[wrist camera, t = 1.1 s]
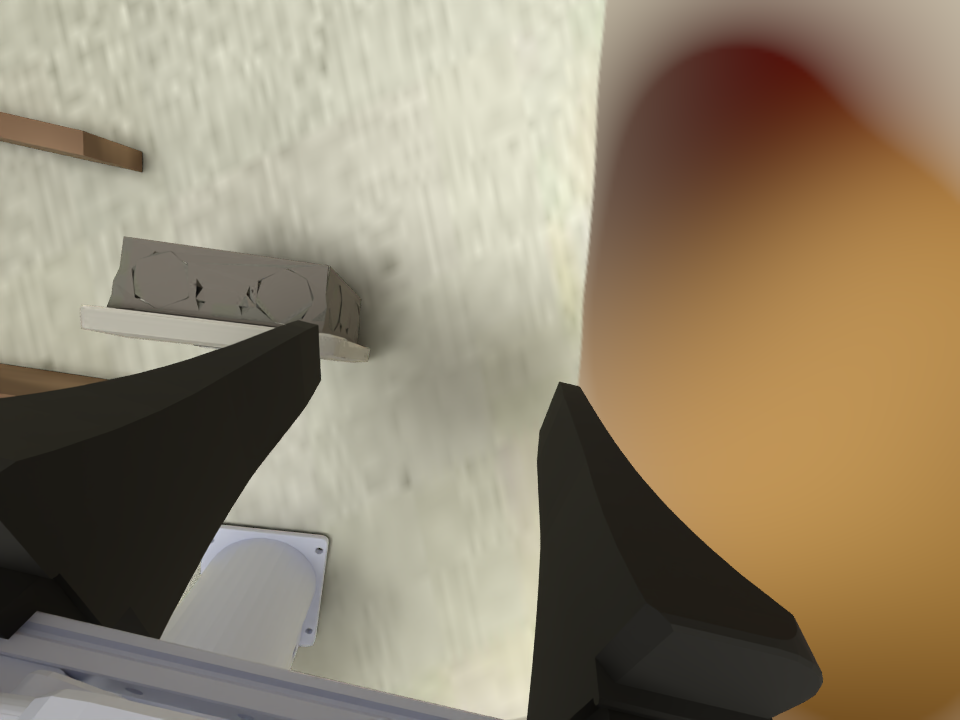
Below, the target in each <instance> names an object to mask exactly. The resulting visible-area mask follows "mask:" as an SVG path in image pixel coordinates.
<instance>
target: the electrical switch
mask: <svg viewBox="0 0 960 720" xmlns="http://www.w3.org/2000/svg"><path fill="white" fill-rule="evenodd" d="M183 261H184V262H186V263H187V264H186V263H184V262H183ZM286 268H288V269H289V270H291V271H289V270H286ZM328 269H329V266H328V265H322V264H315V263H308V262H301V261H294V260H286V259H279V258H272V257H265V256H258V255H251V254H244V253H237V252H230V251H223V250H216V249H209V248H202V247H195V246H188V245H181V244H174V243H167V242H160V241H153V240H146V239H139V238H132V237H124V238H123V246H122V253H121V261H120V268H119V270H118V272H117V274H116V276H115V278H114V280H113V287H112V295H111V297H110V300H109V302H108V305H107V307H99V306H91V305H82V306H81V307H80V318H81V329H86V330H91V331H96V332H101V333H106V334H111V335H117V336H122V337H127V338H135V339H145V340H154V341H163V342H172V343H181V344H191V345H195V346H199V347H204V348H213V349H221V348H224V347H226V346H229V345H232V344H235V343H237V342H240V341H242V340H245V339H248V338H250V337H253V336H256V335H258V334H261V333H263V332H266V331H268V330H271V329H274V328H276V327H279V326H282V325H285V324H287V323H290V322H294V321H297V320H300V321H304V322H308V323H312V324H317V325H318V326H319V348H320V359H325V360H334V361H343V362H355V363H356V362H368V358H369V353H370V348H369V347H364V346H361V345H358V344H357V340H358V333H359V313H360V305H361V299H360V297H359V296H358V295H357V294H356V293H355V292H354V291H353V290H352V289H351V288H350V287H349V286H348V285H347V284H346V283H345V281H344V280H343V279H342V278H341V277H340V276H339V275H338V274H337V273H336V272H335V271H334V270H333V269H332V268H331V267H330V272H329V278H328ZM292 271H293V272H292ZM327 278H328V284H327ZM259 282H261V284H260V287H258V283H259ZM326 288H327V290H326Z"/></svg>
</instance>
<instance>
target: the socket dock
mask: <svg viewBox="0 0 960 720" xmlns="http://www.w3.org/2000/svg"><path fill="white" fill-rule="evenodd" d="M0 141H3V142H7V143H12V144H16V145H21V146H25V147H30V148H34V149H39V150H44V151H48V152H53V153H57V154H62V155H66V156H71V157H75V158H80V159H84V160H89V161H93V162H98V163H102V164H107V165H112V166H116V167H121V168H125V169H130V170H134V171H139V172H142V152H141V151H138V150H135V149H132V148H130V147H127V146H124V145H121V144H118V143H115V142H113V141H110V140H107V139H104V138H101V137H98V136H96V135H93V134H90V133H87V132H84V131H81V130H76V129H72V128H68V127H63V126H59V125H55V124H50V123H46V122H42V121H37V120H33V119H29V118H24V117H20V116H15V115H11V114H7V113H2V112H0ZM106 380H107V379H100V378H93V377H87V376H80V375H73V374H66V373H60V372H53V371H46V370H40V369H33V368H26V367H19V366H13V365H6V364H0V398H5V397H12V396H19V395H26V394H33V393H40V392H47V391H53V390H59V389H65V388H71V387H76V386H82V385H86V384H91V383H96V382H101V381H106Z"/></svg>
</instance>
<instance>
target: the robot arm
mask: <svg viewBox="0 0 960 720" xmlns="http://www.w3.org/2000/svg"><path fill="white" fill-rule="evenodd" d="M320 381H321V369H320V348H319V326H318V325H317V324H312V323H308V322H304V321H300V320H297V321H294V322H290V323H287V324H285V325H282V326H279V327H276V328H274V329H271V330H268V331H266V332H263V333H261V334H258V335H256V336H253V337H250V338H248V339H245V340H242V341H240V342H237V343H235V344H232V345H229V346H226V347H224V348H221V349H218V350H215V351H212V352H209V353H206V354H203V355H200V356H197V357H194V358H191V359H188V360H185V361H182V362H179V363H175V364H172V365H168V366H165V367H161V368H157V369H153V370H149V371H146V372H142V373H138V374H134V375H130V376H125V377H120V378H115V379H110V380H106V381H101V382H96V383H91V384H86V385H82V386H76V387H71V388H65V389H59V390H53V391H47V392H40V393H33V394H26V395H19V396H12V397H5V398H0V720H502V719H498V718H494V717H489V716H485V715H481V714H477V713H472V712H468V711H464V710H459V709H455V708H451V707H447V706H442V705H438V704H434V703H429V702H425V701H421V700H416V699H412V698H408V697H404V696H399V695H395V694H391V693H386V692H382V691H378V690H374V689H369V688H365V687H361V686H356V685H352V684H348V683H344V682H339V681H335V680H331V679H326V678H322V677H318V676H313V675H309V674H305V673H301V672H296V671H292V670H290V669H291V666H292V664H293V661H294V658H295V656H296V653H297V650H298V647H299V646H303V647H309V646H312V645H313V644H314V642H315V639H316V634H317V627H318V619H319V612H320V604H321V597H322V589H323V582H324V574H325V567H326V559H327V552H328V544H329V540H328V538H327V537H326V536H324V535H316V534H307V533H297V532H287V531H278V530H268V529H259V528H249V527H240V526H230V525H222V523H223V522H224V520H225V518H226V517H227V515H228V513H229V512H230V510H231V508H232V507H233V505H234V504H235V502H236V500H237V499H238V497H239V496H240V494H241V492H242V491H243V489H244V488H245V486H246V485H247V483H248V481H249V480H250V478H251V477H252V476H253V474H254V473H255V471H256V470H257V469H258V467H259V466H260V465H261V463H262V462H263V461H264V460H265V458H266V457H267V456H268V455H269V453H270V452H271V451H272V449H273V448H274V447H275V446H276V444H277V443H278V442H279V441H280V439H281V438H282V437H283V436H284V434H285V433H286V432H287V431H288V429H289V428H290V427H291V425H292V424H293V423H294V422H295V420H296V419H297V418H298V416H299V415H300V414H301V412H302V411H303V410H304V408H305V407H306V405H307V404H308V402H309V400H310V399H311V397H312V395H313V394H314V392H315V390H316V388H317V386H318V385H319V383H320ZM537 472H538V494H539V514H540V567H539V586H538V601H537V615H536V628H535V640H534V652H533V664H532V674H531V684H530V694H529V704H528V714H527V720H772V717H774V716H776V715H778V714H780V713H783V712H785V711H787V710H789V709H791V708H793V707H795V706H797V705H799V704H801V703H803V702H805V701H806V700H808V699H810V698H811V697H813V696H814V695H816V693H817V692H818V690H819V688H820V687H821V685H822V683H823V677H822V672H821V670H820V668H819V666H818V664H817V662H816V660H815V658H814V656H813V654H812V652H811V650H810V648H809V646H808V644H807V642H806V640H805V638H804V636H803V634H802V632H801V630H800V628H799V626H798V624H797V622H796V620H795V618H794V616H793V615H792V614H791V613H790V612H788V611H787V610H786V609H784V608H783V607H782V606H780V605H779V604H778V603H777V602H775V601H774V600H773V599H772V598H770V597H769V596H768V595H767V594H765V593H764V592H763V591H761V590H760V589H759V588H758V587H756V586H755V585H754V584H752V583H751V582H750V581H748V580H747V579H746V578H745V577H743V576H742V575H741V574H740V573H739V572H737V571H736V570H735V569H734V568H732V566H730V565H729V564H728V563H727V562H726V561H725V560H723V559H722V558H721V557H720V556H719V555H718V554H717V553H715V552H714V551H713V550H712V549H711V548H710V547H709V546H707V545H706V544H705V543H704V542H703V541H702V540H701V539H700V538H699V537H698V536H696V534H694V533H693V532H692V531H691V530H690V529H689V528H688V527H687V526H686V525H685V524H684V523H683V522H682V521H681V520H680V519H679V518H678V517H677V516H676V515H675V514H674V513H673V512H672V511H671V510H670V509H669V508H668V507H667V506H666V505H665V504H664V502H663V501H662V500H661V499H660V498H659V497H658V496H657V495H656V493H655V492H654V491H653V490H652V489H651V488H650V487H649V485H648V484H647V483H646V482H645V481H644V480H643V479H642V477H641V476H640V475H639V474H638V472H637V471H636V470H635V469H634V467H633V466H632V465H631V464H630V462H629V461H628V460H627V458H626V457H625V455H624V454H623V453H622V451H621V450H620V449H619V447H618V446H617V444H616V443H615V442H614V440H613V439H612V437H611V436H610V434H609V433H608V431H607V430H606V428H605V427H604V425H603V424H602V422H601V420H600V419H599V417H598V416H597V414H596V412H595V411H594V409H593V407H592V406H591V404H590V403H589V401H588V399H587V398H586V396H585V394H584V393H583V391H582V389H581V388H580V387H579V386H575V385H571V384H567V383H563V382H559V384H558V386H557V389H556V391H555V394H554V396H553V399H552V401H551V404H550V406H549V409H548V411H547V414H546V417H545V419H544V422H543V424H542V427H541V429H540V433H539V444H538V456H537ZM318 548H322V549H323V550H319V549H318ZM200 561H201V575H200V577H199V578H198V579H197V581H196V582H195V583H194V585H193V586H192V587H191V589H190V590H189V591H188V593H187V594H186V595H185V596H184V598H183V599H182V600H181V602H180V603H179V604H178V602H179V600H180V598H181V597H182V595H183V593H184V591H185V589H186V587H187V585H188V583H189V581H190V579H191V578H192V576H193V574H194V572H195V570H196V569H197V567H198V565H199V563H200ZM177 604H178V606H177ZM176 606H177V607H176ZM308 628H310V629H308Z"/></svg>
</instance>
